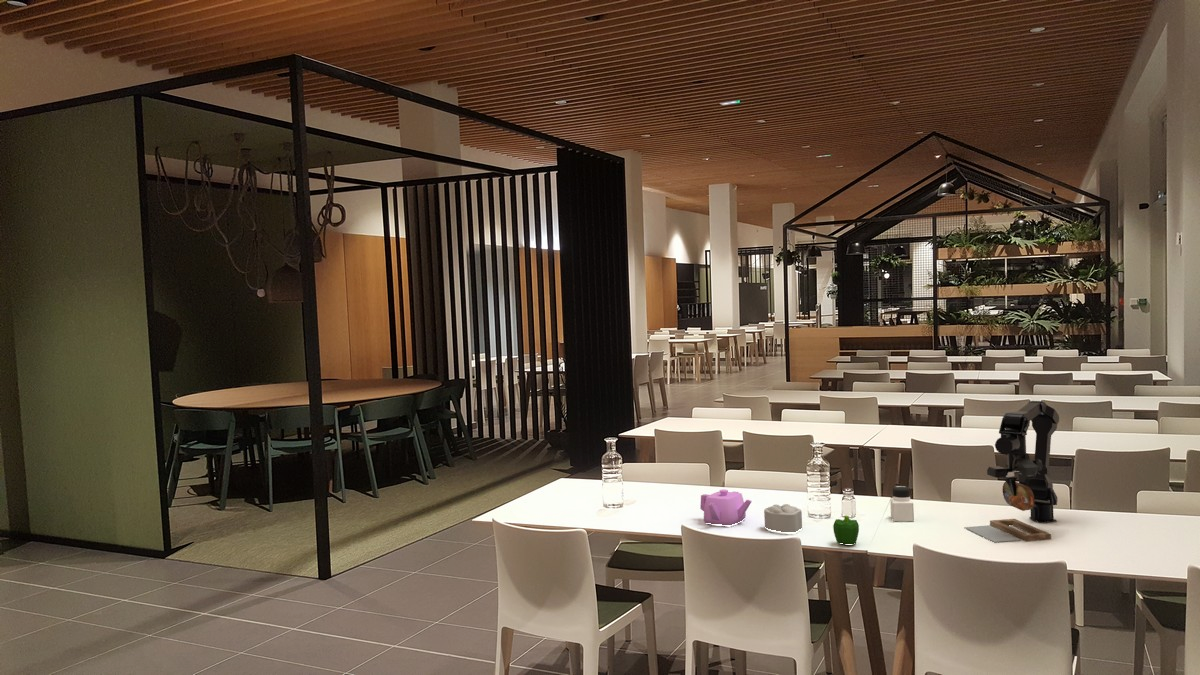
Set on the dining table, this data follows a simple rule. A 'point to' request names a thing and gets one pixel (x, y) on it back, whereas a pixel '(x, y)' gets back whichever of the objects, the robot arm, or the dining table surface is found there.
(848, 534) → the bell pepper
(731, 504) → the teakettle
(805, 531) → the dining table surface
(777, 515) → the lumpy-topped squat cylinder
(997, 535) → the grey mat
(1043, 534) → the frame
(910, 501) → the medicine bottle
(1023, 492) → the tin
